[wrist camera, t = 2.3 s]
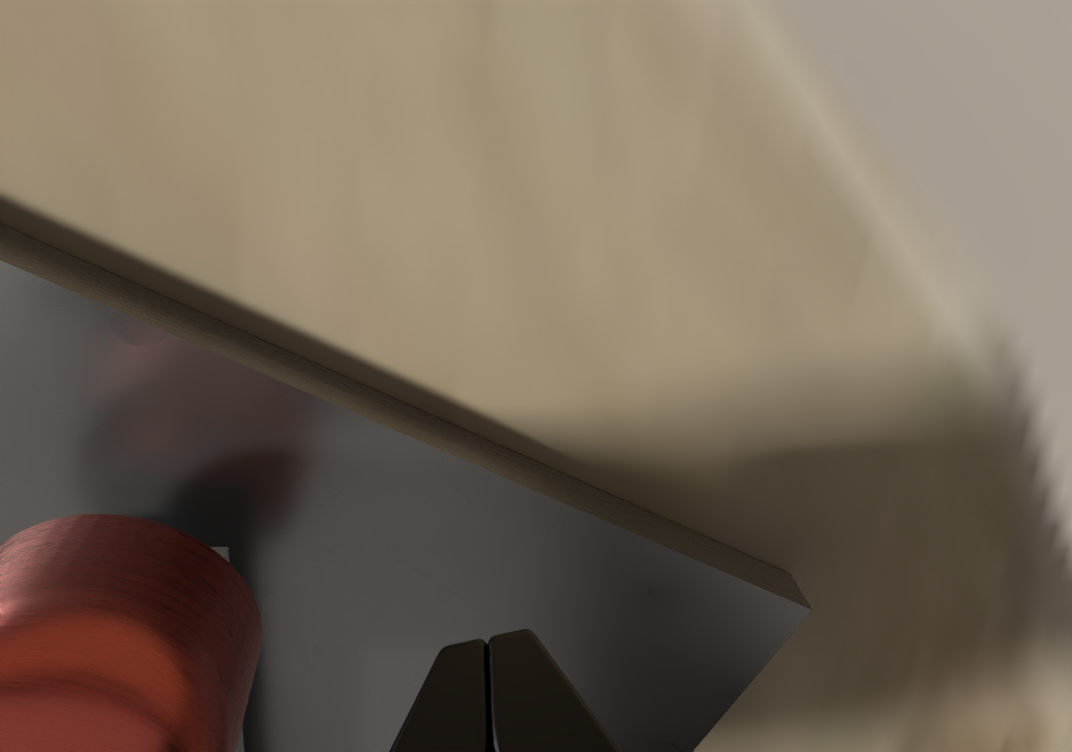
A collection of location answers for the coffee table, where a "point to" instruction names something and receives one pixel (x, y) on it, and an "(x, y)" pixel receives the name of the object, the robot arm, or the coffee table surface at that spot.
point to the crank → (122, 639)
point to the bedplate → (361, 521)
